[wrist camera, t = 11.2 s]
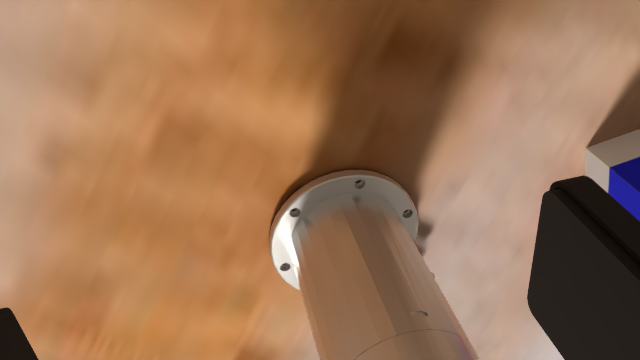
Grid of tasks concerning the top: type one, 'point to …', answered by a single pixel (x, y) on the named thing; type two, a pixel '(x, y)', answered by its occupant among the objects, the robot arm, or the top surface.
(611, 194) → the puzzle toy
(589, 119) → the top surface
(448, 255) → the top surface
